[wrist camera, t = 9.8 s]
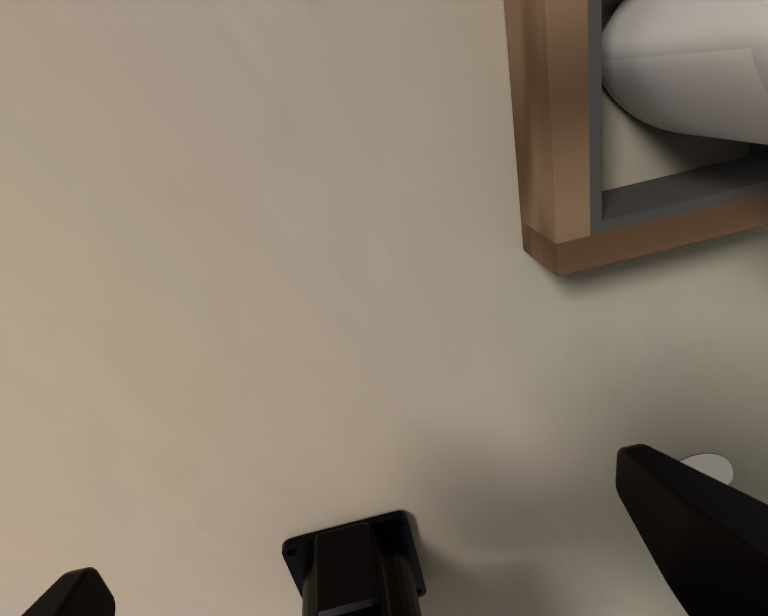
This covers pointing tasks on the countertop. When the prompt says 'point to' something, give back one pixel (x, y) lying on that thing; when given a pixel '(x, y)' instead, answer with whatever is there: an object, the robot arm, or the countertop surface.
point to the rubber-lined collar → (584, 155)
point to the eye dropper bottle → (691, 65)
